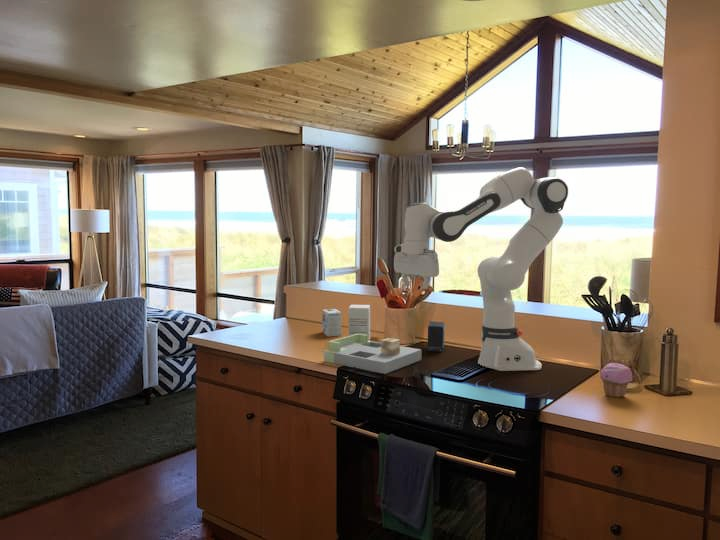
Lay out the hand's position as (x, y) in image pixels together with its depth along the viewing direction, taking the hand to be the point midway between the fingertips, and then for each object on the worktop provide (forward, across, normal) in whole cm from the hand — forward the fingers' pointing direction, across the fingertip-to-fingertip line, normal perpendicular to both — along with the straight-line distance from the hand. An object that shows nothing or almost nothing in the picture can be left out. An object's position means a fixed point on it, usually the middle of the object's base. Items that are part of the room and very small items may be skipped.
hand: (415, 287), depth 204 cm
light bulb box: (+30, +65, -8) cm, 72 cm away
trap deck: (+29, +16, +6) cm, 34 cm away
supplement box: (+29, +47, -11) cm, 57 cm away
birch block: (+25, +8, +4) cm, 27 cm away
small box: (+29, +15, -26) cm, 42 cm away
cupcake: (+28, -61, -27) cm, 73 cm away
